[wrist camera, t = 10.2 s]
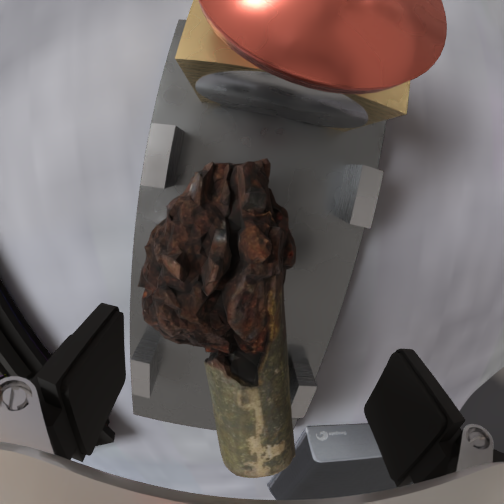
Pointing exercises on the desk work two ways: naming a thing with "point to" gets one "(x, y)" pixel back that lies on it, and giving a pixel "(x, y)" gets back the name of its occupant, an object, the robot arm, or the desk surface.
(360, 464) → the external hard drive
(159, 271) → the morel mushroom
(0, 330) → the keyboard
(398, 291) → the desk surface
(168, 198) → the stand
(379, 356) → the desk surface
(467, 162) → the desk surface
